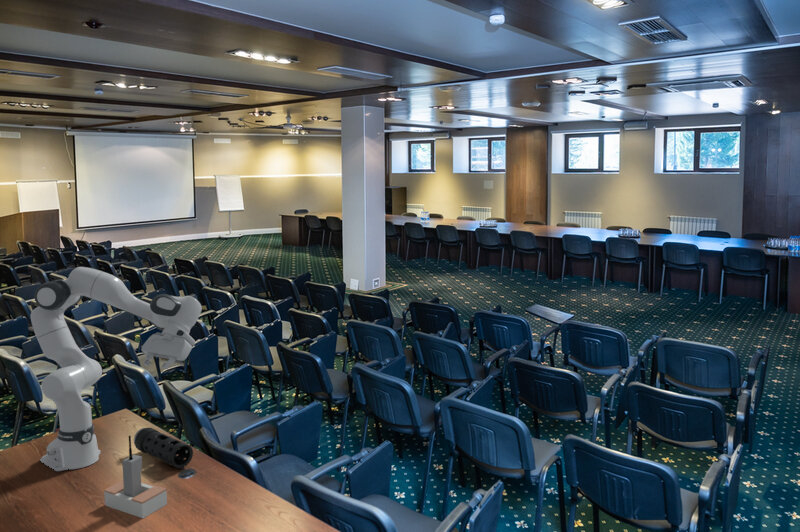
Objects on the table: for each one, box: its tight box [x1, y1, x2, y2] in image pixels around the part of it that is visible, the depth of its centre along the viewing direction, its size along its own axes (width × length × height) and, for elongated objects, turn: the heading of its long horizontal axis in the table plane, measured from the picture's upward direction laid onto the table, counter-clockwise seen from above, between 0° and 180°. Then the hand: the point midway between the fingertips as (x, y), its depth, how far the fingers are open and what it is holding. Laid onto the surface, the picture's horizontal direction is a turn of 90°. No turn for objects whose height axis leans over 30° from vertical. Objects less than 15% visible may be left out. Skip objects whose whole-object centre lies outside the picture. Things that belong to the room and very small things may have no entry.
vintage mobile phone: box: [122, 435, 143, 498], centre depth 206 cm, size 4×5×25 cm
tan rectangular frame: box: [103, 480, 168, 519], centre depth 208 cm, size 18×10×6 cm, turn 64°
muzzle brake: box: [133, 427, 194, 470], centre depth 242 cm, size 10×28×10 cm, turn 53°
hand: (155, 366), depth 226 cm, fingers open, 8 cm apart
